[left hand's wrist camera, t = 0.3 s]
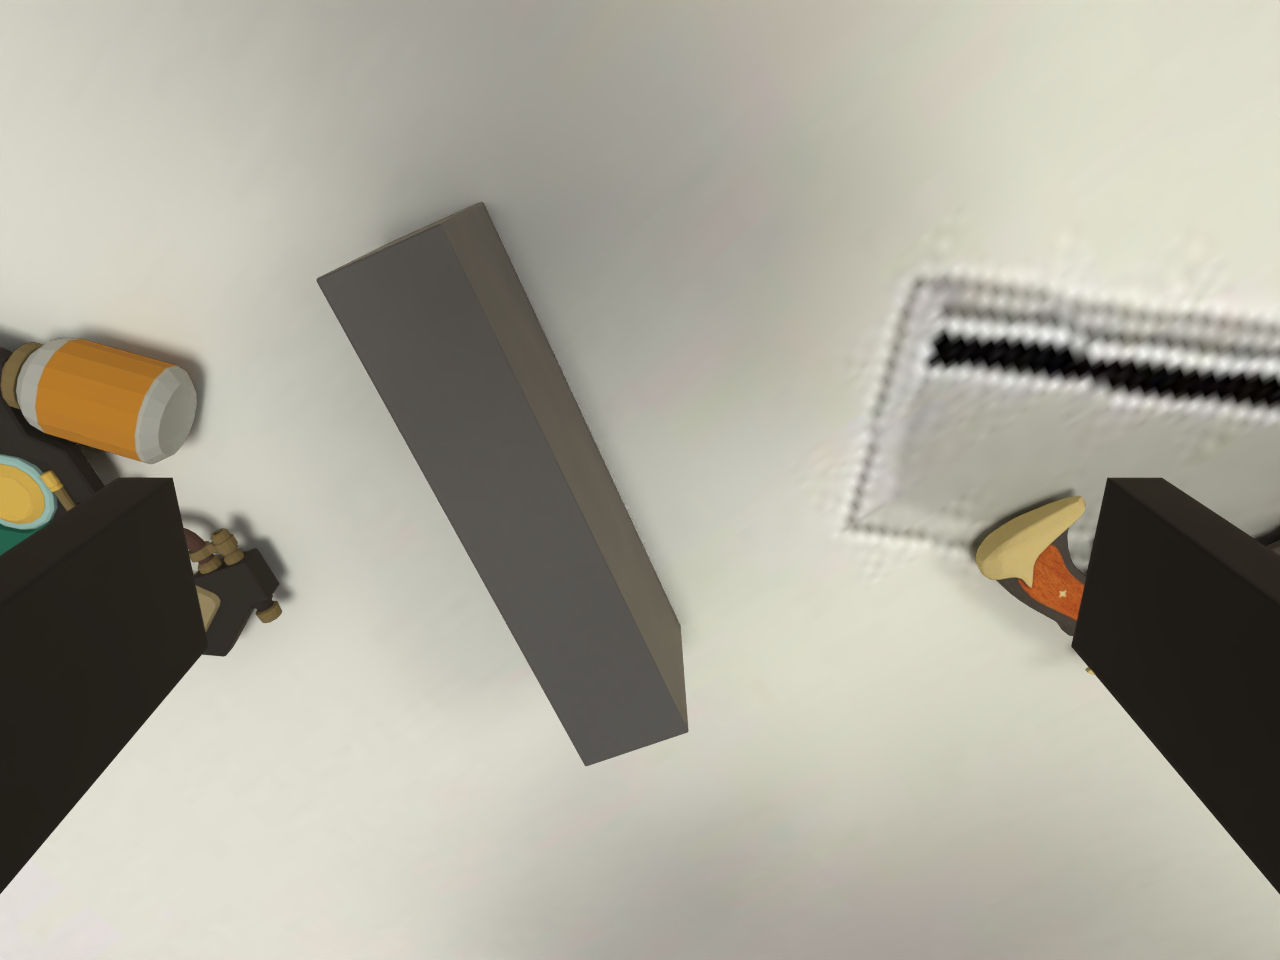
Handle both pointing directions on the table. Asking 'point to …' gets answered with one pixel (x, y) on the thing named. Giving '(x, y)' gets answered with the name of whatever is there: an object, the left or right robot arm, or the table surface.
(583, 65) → the table surface
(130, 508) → the left robot arm
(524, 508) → the bar
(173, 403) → the spray gun
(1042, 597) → the toy gun
